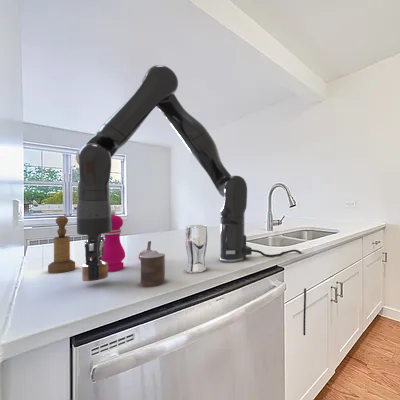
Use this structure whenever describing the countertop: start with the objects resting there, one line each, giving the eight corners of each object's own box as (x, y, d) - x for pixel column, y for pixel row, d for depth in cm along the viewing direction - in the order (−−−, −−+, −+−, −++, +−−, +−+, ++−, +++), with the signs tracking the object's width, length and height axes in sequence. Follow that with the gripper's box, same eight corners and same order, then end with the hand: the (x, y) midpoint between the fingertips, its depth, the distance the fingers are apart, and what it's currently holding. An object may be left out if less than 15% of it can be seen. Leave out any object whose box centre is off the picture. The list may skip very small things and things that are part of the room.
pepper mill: (111, 273, 82) (111, 211, 82) (93, 271, 83) (92, 210, 83) (130, 267, 89) (130, 210, 89) (113, 265, 90) (113, 209, 90)
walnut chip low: (163, 278, 77) (163, 265, 77) (165, 284, 72) (165, 270, 72) (140, 281, 74) (140, 268, 74) (140, 288, 69) (140, 273, 68)
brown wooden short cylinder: (108, 273, 75) (108, 260, 75) (107, 279, 70) (106, 264, 70) (84, 277, 72) (84, 263, 72) (80, 282, 67) (80, 267, 67)
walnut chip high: (163, 265, 77) (163, 252, 77) (165, 270, 72) (165, 256, 72) (140, 268, 74) (140, 254, 73) (140, 273, 68) (140, 258, 68)
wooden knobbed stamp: (45, 274, 80) (45, 217, 80) (50, 269, 85) (50, 216, 85) (74, 271, 84) (73, 216, 84) (76, 266, 89) (76, 215, 89)
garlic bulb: (148, 259, 100) (148, 239, 100) (165, 260, 98) (165, 239, 98) (132, 264, 92) (132, 242, 92) (150, 265, 91) (150, 243, 91)
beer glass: (181, 270, 86) (181, 225, 85) (201, 266, 90) (202, 224, 90) (190, 274, 81) (190, 227, 80) (210, 270, 86) (211, 226, 85)
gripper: (108, 217, 67) (109, 281, 67) (113, 214, 79) (114, 268, 79) (71, 219, 63) (72, 286, 63) (81, 215, 75) (82, 272, 75)
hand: (95, 276), depth 71 cm, fingers closed on brown wooden short cylinder, 5 cm apart
